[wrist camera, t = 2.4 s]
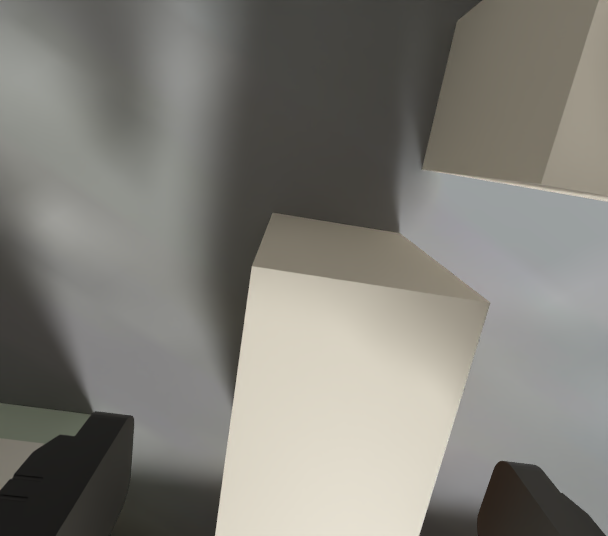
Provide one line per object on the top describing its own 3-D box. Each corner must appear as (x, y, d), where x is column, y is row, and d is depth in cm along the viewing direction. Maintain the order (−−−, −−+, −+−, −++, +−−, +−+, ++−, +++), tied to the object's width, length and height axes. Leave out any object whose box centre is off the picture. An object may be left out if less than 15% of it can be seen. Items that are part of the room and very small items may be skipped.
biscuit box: (403, 233, 14) (497, 304, 8) (353, 446, 17) (392, 643, 10) (272, 212, 14) (251, 266, 7) (240, 432, 16) (203, 624, 10)
